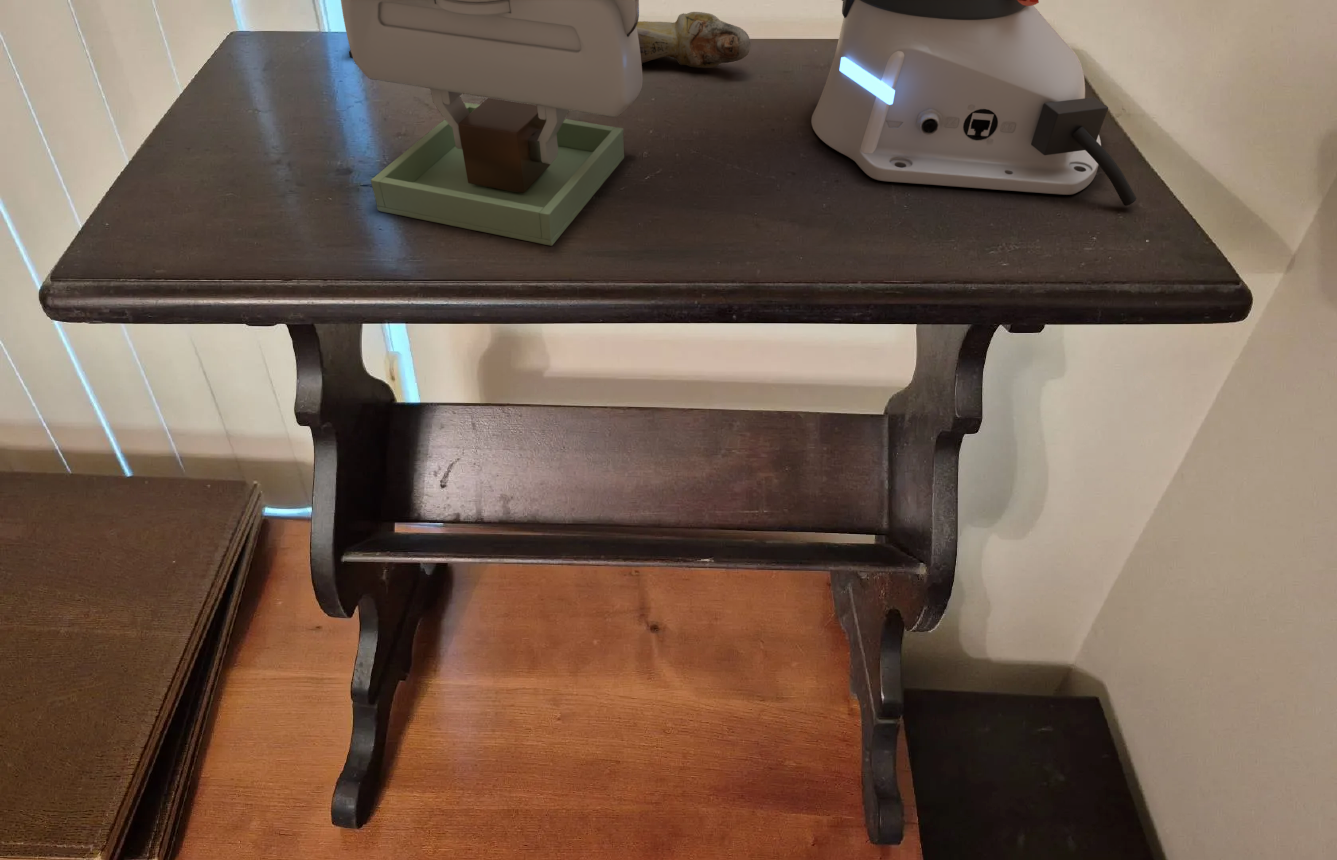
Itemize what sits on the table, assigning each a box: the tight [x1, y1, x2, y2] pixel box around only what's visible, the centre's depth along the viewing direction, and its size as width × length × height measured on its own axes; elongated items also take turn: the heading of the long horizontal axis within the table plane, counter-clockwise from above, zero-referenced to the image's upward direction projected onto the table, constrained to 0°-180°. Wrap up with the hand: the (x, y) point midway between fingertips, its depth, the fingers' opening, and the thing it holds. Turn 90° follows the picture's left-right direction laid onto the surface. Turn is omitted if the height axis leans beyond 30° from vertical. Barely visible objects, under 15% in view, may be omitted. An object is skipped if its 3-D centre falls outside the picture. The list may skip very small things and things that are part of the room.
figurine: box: [636, 11, 752, 68], centre depth 79 cm, size 5×5×15 cm
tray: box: [370, 102, 625, 247], centre depth 64 cm, size 13×13×2 cm
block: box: [458, 97, 550, 193], centre depth 63 cm, size 4×4×4 cm
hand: (506, 153), depth 63 cm, fingers closed on block, 4 cm apart
